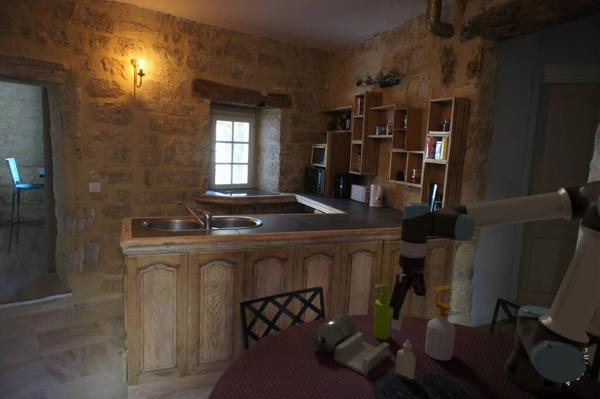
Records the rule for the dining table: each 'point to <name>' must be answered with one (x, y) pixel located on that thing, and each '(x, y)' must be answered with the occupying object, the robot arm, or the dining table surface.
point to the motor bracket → (348, 345)
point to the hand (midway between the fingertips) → (406, 321)
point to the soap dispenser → (382, 314)
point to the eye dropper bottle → (406, 361)
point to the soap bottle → (440, 331)
